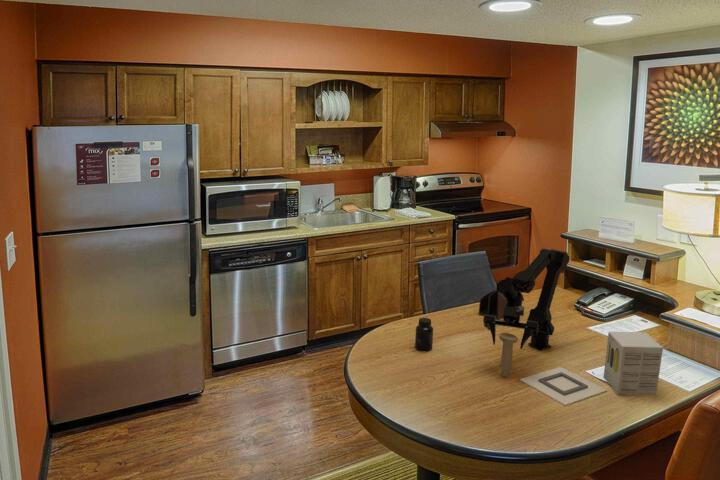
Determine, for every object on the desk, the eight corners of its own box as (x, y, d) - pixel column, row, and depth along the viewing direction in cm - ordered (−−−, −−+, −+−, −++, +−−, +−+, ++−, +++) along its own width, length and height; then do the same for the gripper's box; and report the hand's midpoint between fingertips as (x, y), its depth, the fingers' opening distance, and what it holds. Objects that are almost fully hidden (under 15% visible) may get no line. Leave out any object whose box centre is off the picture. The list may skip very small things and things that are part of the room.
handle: (508, 381, 204) (511, 341, 200) (494, 374, 208) (496, 335, 205) (517, 377, 206) (520, 337, 203) (502, 370, 211) (505, 331, 208)
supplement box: (602, 376, 207) (607, 330, 203) (639, 377, 207) (646, 331, 203) (617, 395, 195) (623, 346, 190) (657, 396, 194) (664, 347, 190)
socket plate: (560, 368, 214) (560, 364, 213) (606, 391, 197) (607, 388, 197) (519, 380, 204) (520, 376, 204) (564, 406, 187) (565, 402, 187)
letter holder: (518, 309, 274) (521, 280, 271) (497, 320, 260) (499, 290, 256) (499, 304, 280) (501, 276, 277) (478, 315, 266) (479, 285, 263)
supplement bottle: (412, 350, 228) (413, 321, 225) (417, 343, 234) (418, 315, 231) (429, 353, 225) (431, 324, 223) (434, 346, 232) (435, 318, 229)
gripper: (485, 293, 208) (478, 333, 201) (540, 299, 202) (535, 341, 194) (487, 307, 217) (481, 345, 210) (540, 313, 211) (535, 354, 203)
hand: (507, 346), depth 204 cm, fingers open, 9 cm apart
